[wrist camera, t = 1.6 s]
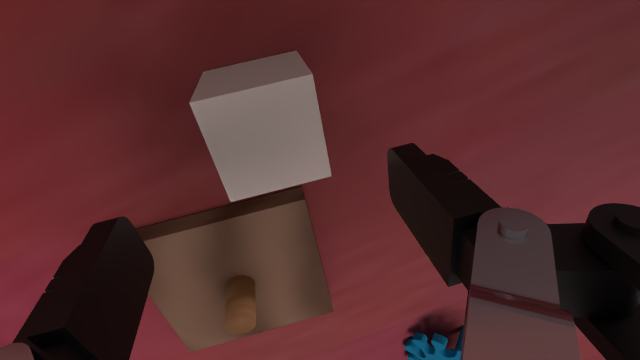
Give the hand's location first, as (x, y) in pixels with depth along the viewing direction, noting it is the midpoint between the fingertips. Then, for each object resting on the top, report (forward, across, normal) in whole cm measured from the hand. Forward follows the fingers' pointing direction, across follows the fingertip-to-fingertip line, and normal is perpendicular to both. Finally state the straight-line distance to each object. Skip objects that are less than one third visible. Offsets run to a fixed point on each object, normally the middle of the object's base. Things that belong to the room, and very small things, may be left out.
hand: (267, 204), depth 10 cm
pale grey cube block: (+10, 0, 0) cm, 10 cm away
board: (+10, +4, +12) cm, 16 cm away
